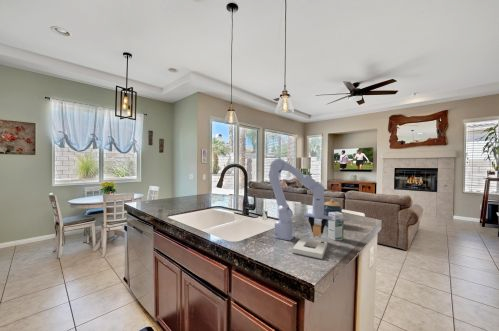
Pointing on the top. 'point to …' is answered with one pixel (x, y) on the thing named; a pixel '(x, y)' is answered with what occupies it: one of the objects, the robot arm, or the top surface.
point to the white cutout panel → (310, 248)
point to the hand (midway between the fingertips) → (317, 232)
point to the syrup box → (336, 226)
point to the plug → (317, 230)
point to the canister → (331, 208)
